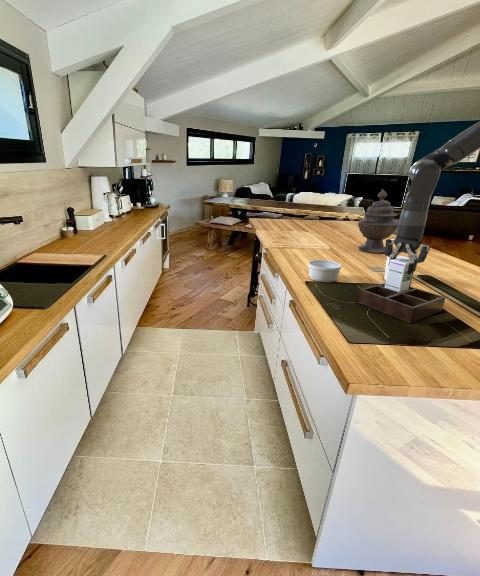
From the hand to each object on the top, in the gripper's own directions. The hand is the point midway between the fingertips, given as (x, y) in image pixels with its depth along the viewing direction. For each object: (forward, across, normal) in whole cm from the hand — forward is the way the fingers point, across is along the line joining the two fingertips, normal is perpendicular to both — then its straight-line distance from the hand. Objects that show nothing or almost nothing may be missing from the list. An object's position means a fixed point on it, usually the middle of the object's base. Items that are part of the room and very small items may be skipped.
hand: (400, 270), depth 112 cm
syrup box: (+11, 0, 0) cm, 11 cm away
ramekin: (+12, +30, +4) cm, 32 cm away
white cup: (+12, +14, -22) cm, 28 cm away
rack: (+12, -4, +4) cm, 13 cm away
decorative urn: (+12, +51, -62) cm, 81 cm away
